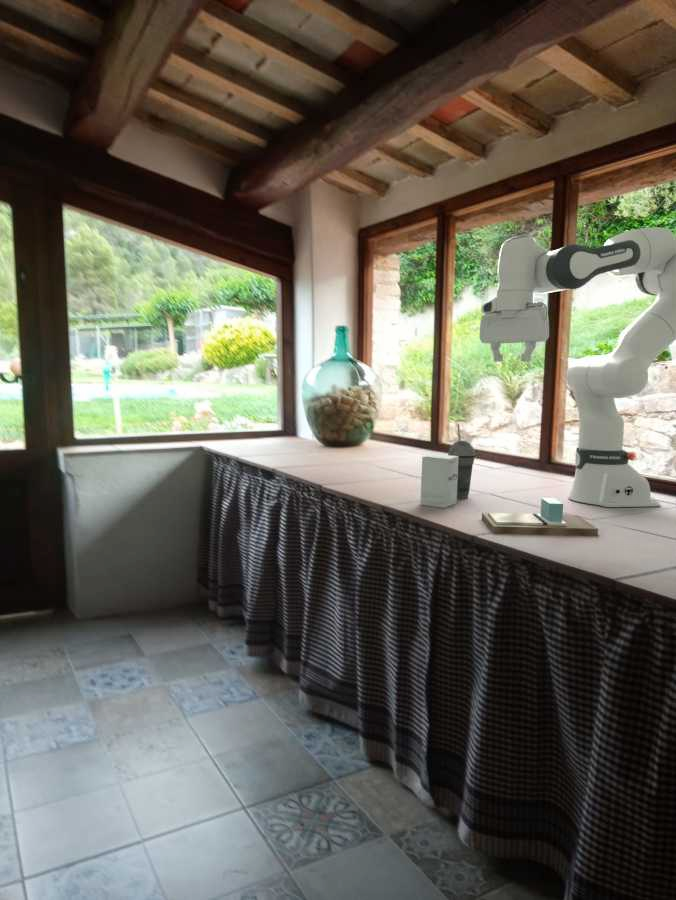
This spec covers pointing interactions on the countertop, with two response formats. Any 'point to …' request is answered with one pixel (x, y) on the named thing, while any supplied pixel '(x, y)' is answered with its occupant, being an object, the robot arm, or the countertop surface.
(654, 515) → the countertop surface
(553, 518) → the teal and white block
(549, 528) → the board
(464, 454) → the beverage cup
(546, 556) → the countertop surface
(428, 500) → the supplement box
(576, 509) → the countertop surface
